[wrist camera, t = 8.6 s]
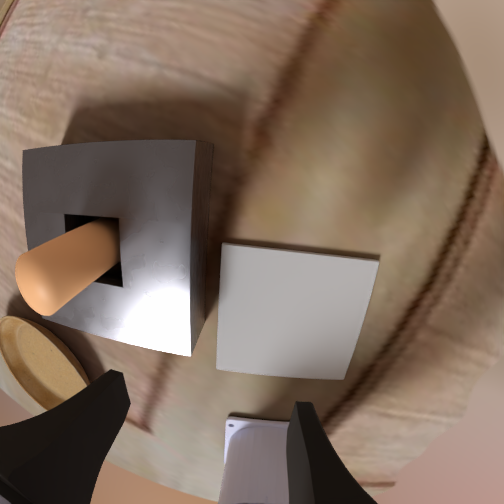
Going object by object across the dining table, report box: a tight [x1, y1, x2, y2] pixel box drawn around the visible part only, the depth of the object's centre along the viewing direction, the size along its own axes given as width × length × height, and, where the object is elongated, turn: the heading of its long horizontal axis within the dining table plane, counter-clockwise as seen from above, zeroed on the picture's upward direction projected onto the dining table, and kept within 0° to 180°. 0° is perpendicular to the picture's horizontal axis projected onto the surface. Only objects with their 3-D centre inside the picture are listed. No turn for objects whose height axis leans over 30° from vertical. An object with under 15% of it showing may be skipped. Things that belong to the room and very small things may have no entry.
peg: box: [15, 217, 121, 316], centre depth 14 cm, size 3×3×9 cm
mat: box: [216, 243, 379, 380], centre depth 19 cm, size 10×10×1 cm
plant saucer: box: [0, 316, 90, 411], centre depth 23 cm, size 15×15×3 cm
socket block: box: [22, 140, 214, 356], centre depth 16 cm, size 12×12×4 cm
